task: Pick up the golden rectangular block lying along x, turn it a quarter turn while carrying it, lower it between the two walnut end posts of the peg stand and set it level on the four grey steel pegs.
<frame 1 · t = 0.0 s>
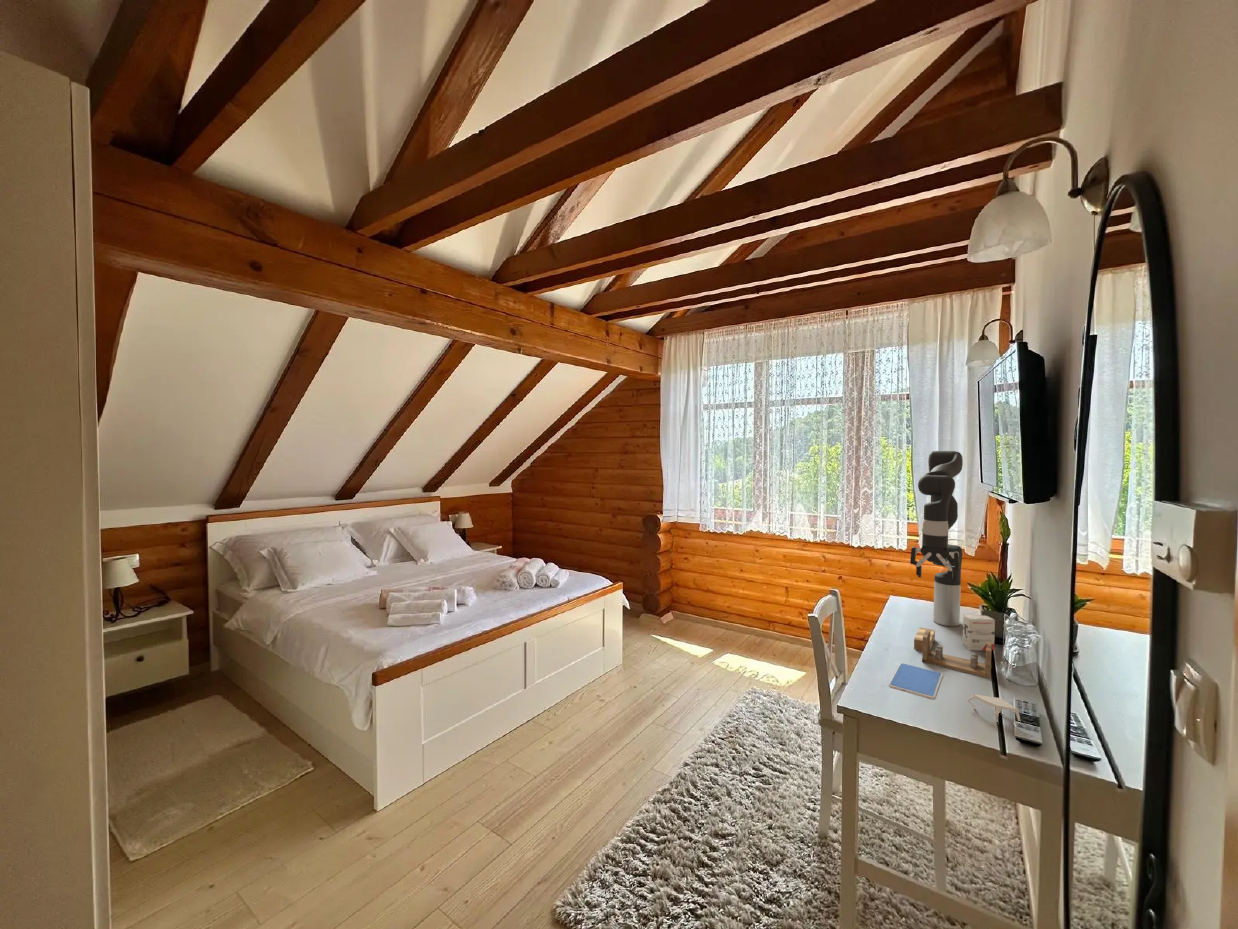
hand: (934, 579, 171), 29 cm above the table, fingers open, 8 cm apart
blue flat rectangular panel: (915, 683, 159), on the table
ink box: (977, 648, 183), on the table
golden rectangular block: (924, 644, 187), on the table
peg stand: (956, 664, 170), on the table
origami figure: (992, 717, 139), on the table
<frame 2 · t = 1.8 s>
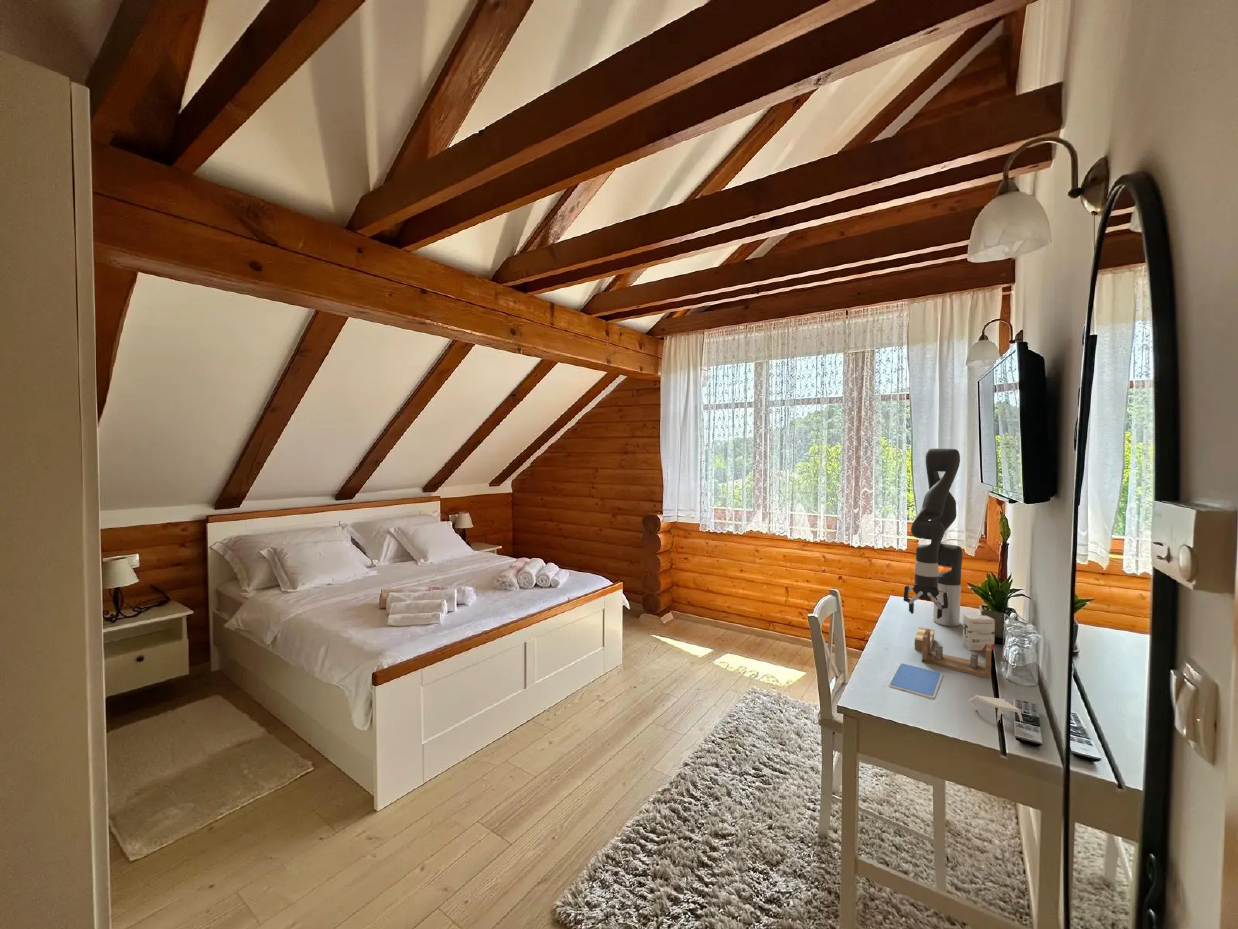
hand: (925, 615, 186), 11 cm above the table, fingers open, 8 cm apart
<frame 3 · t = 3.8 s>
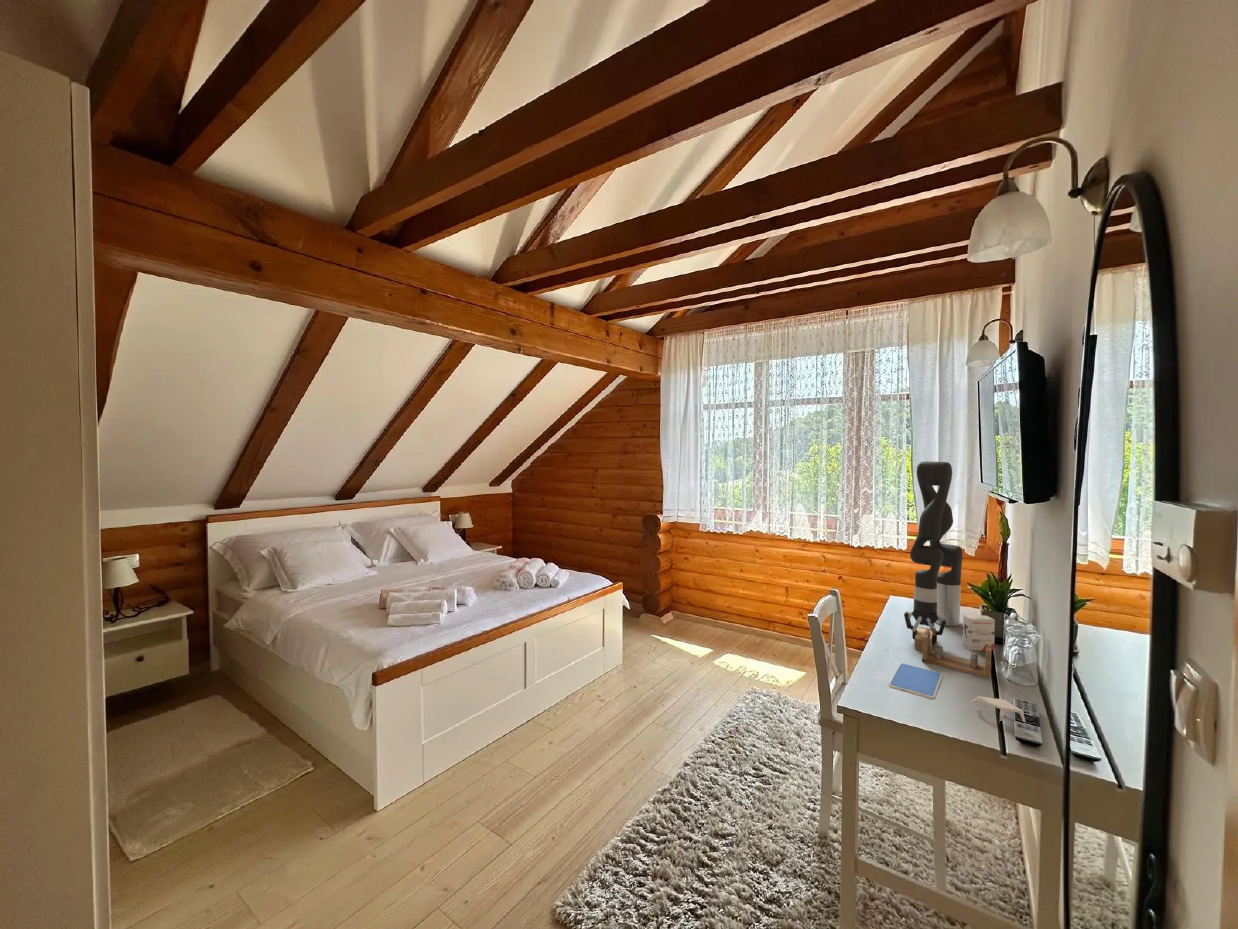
hand: (924, 642, 187), 1 cm above the table, fingers closed on golden rectangular block, 5 cm apart
golden rectangular block: (924, 644, 187), on the table, touching gripper
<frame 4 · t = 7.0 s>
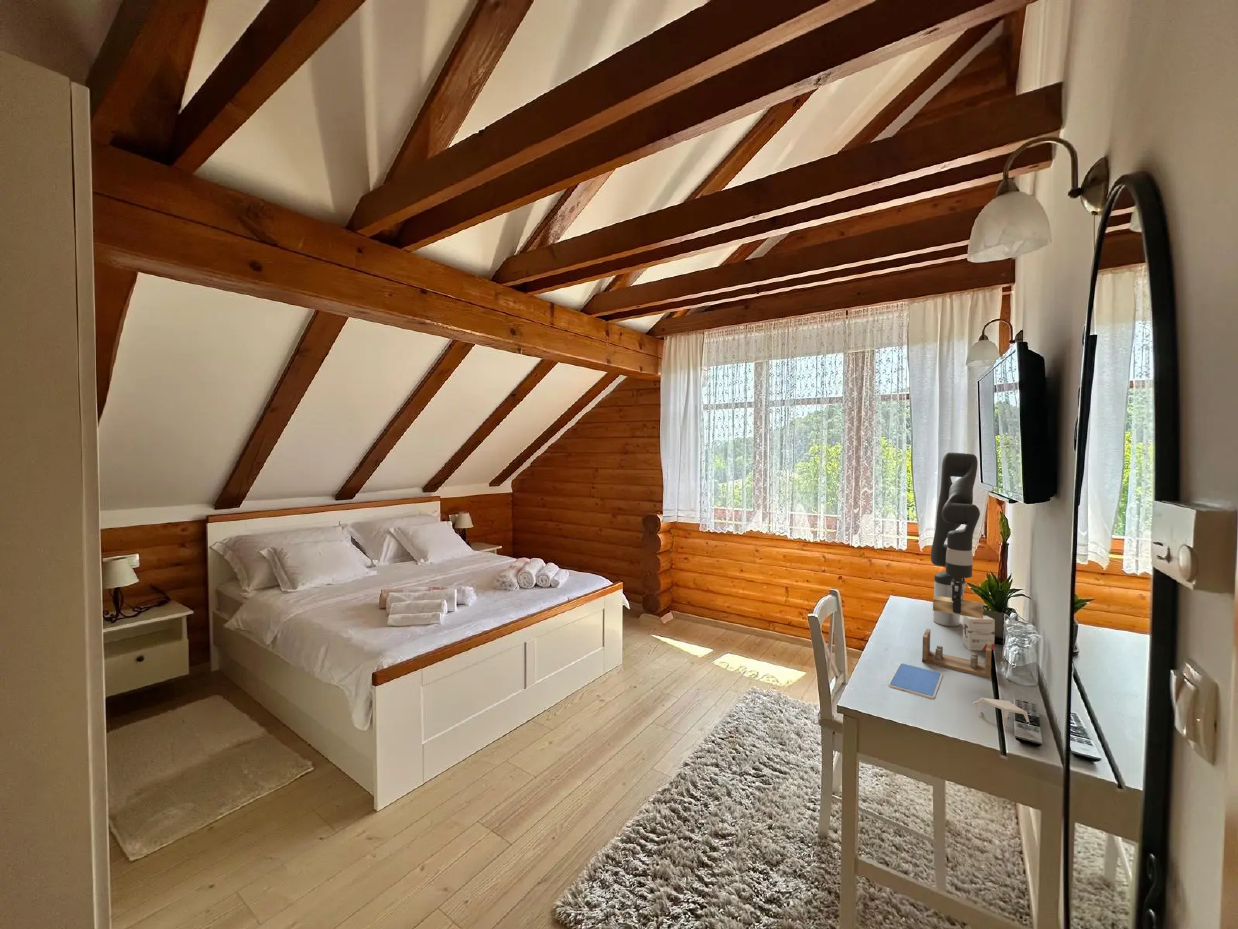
hand: (957, 610, 169), 19 cm above the table, fingers closed on golden rectangular block, 5 cm apart
golden rectangular block: (957, 612, 169), point 18 cm above the table, touching gripper
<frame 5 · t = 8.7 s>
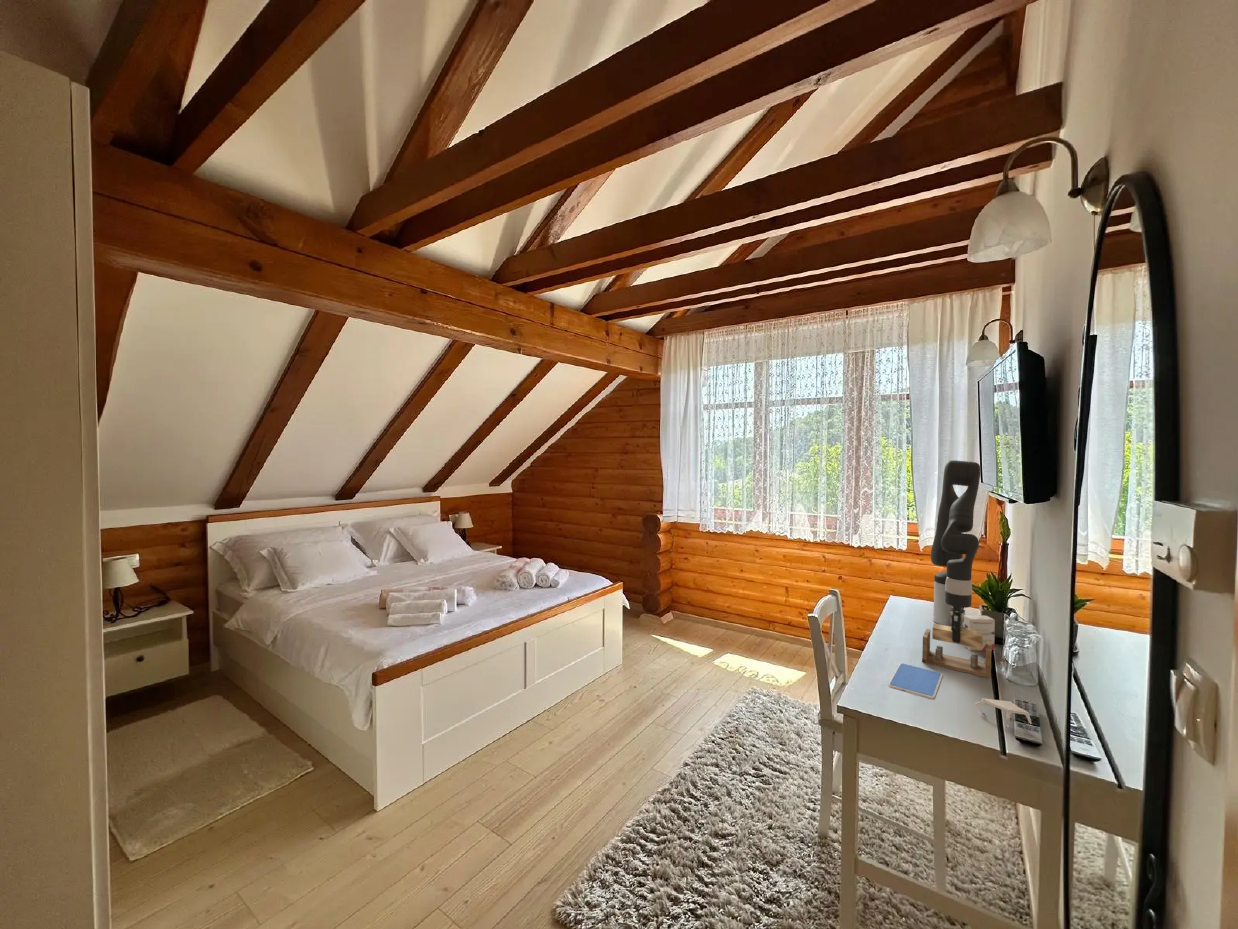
hand: (957, 639, 169), 9 cm above the table, fingers closed on golden rectangular block, 5 cm apart
golden rectangular block: (957, 641, 169), point 8 cm above the table, touching gripper
when the fingers open (6 cm above the table, at t = 10.2 s): golden rectangular block stays where it is, resting on peg stand.
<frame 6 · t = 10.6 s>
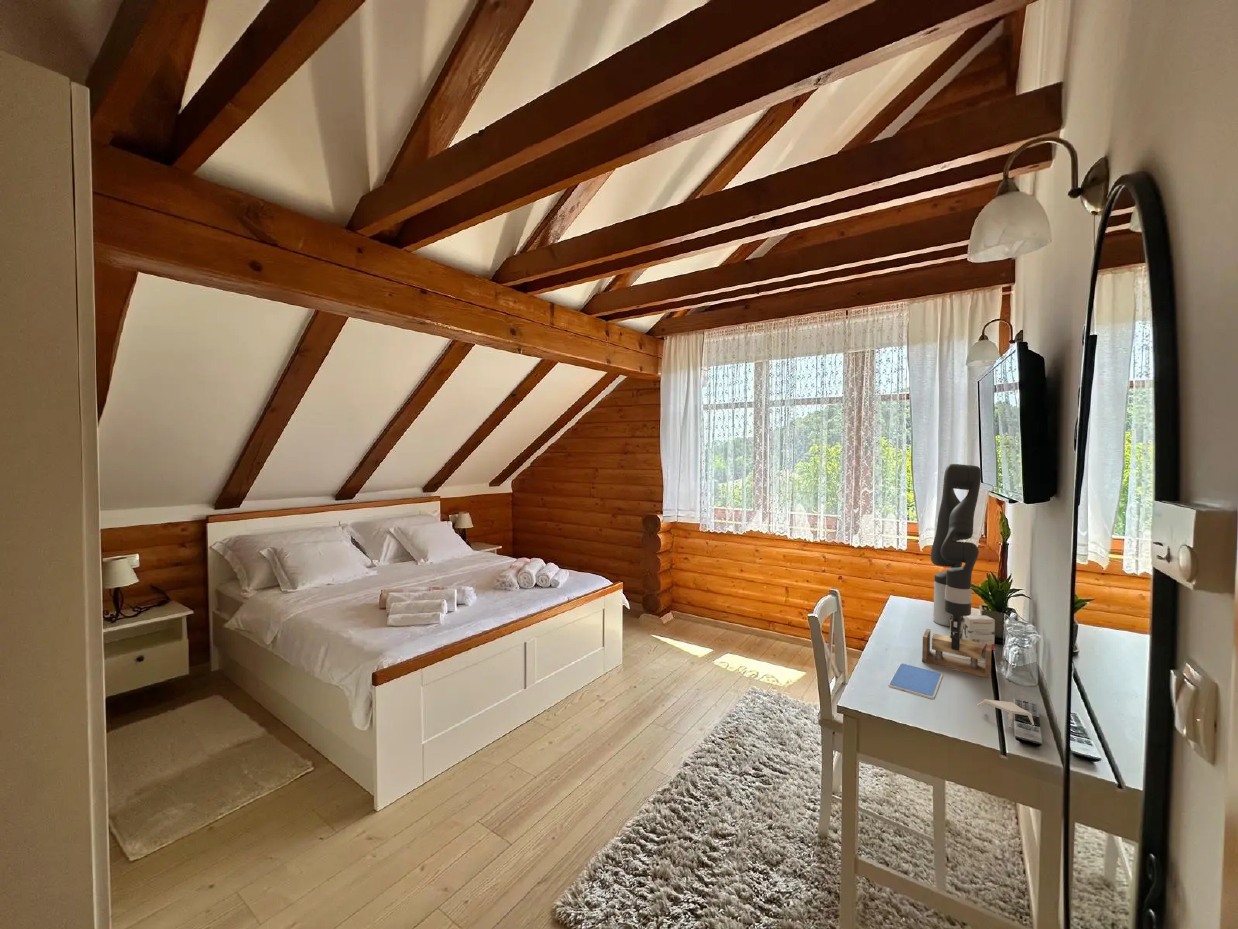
hand: (956, 645, 169), 7 cm above the table, fingers open, 8 cm apart
golden rectangular block: (956, 652, 170), point 4 cm above the table, touching peg stand
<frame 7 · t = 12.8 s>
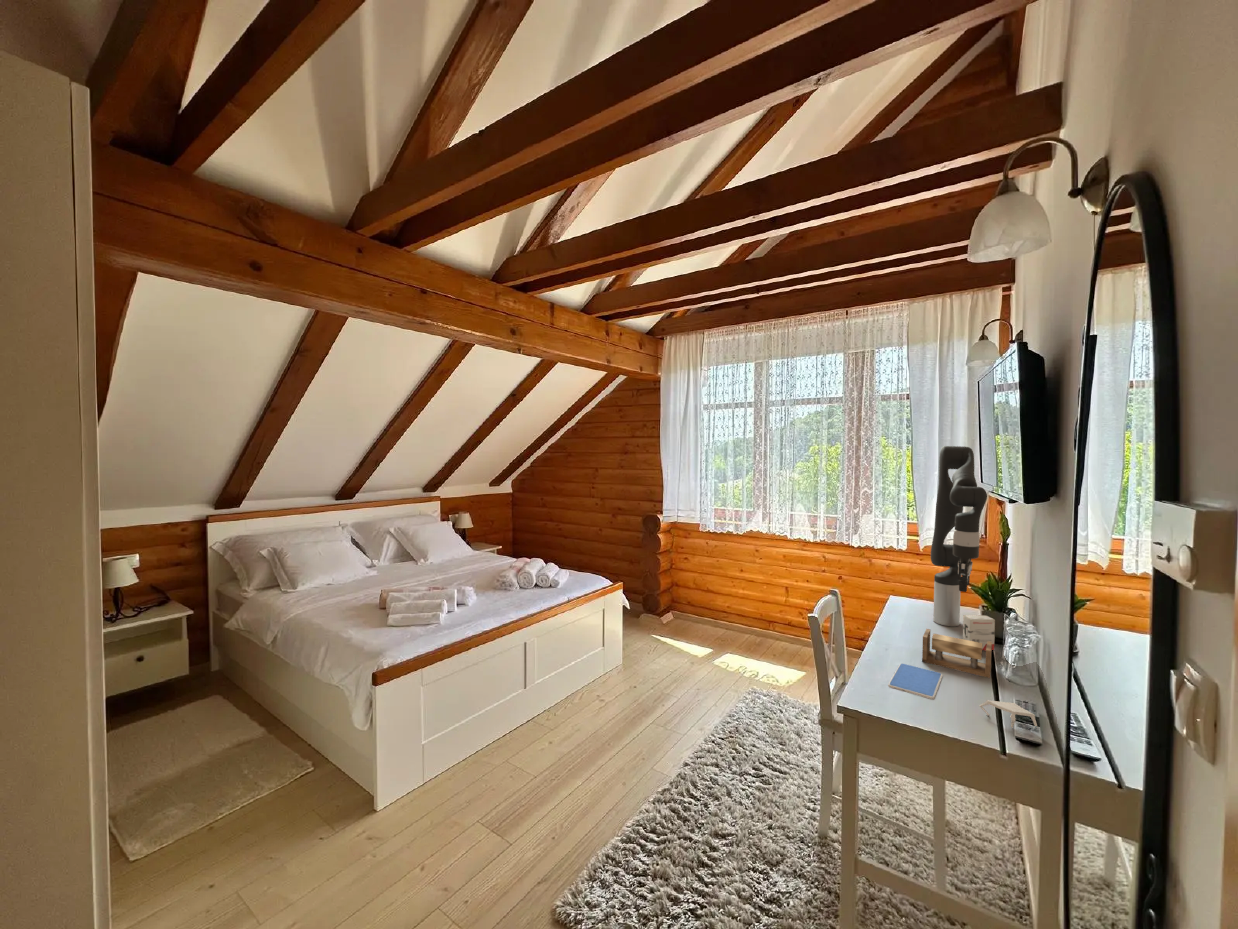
hand: (964, 588, 174), 25 cm above the table, fingers open, 8 cm apart
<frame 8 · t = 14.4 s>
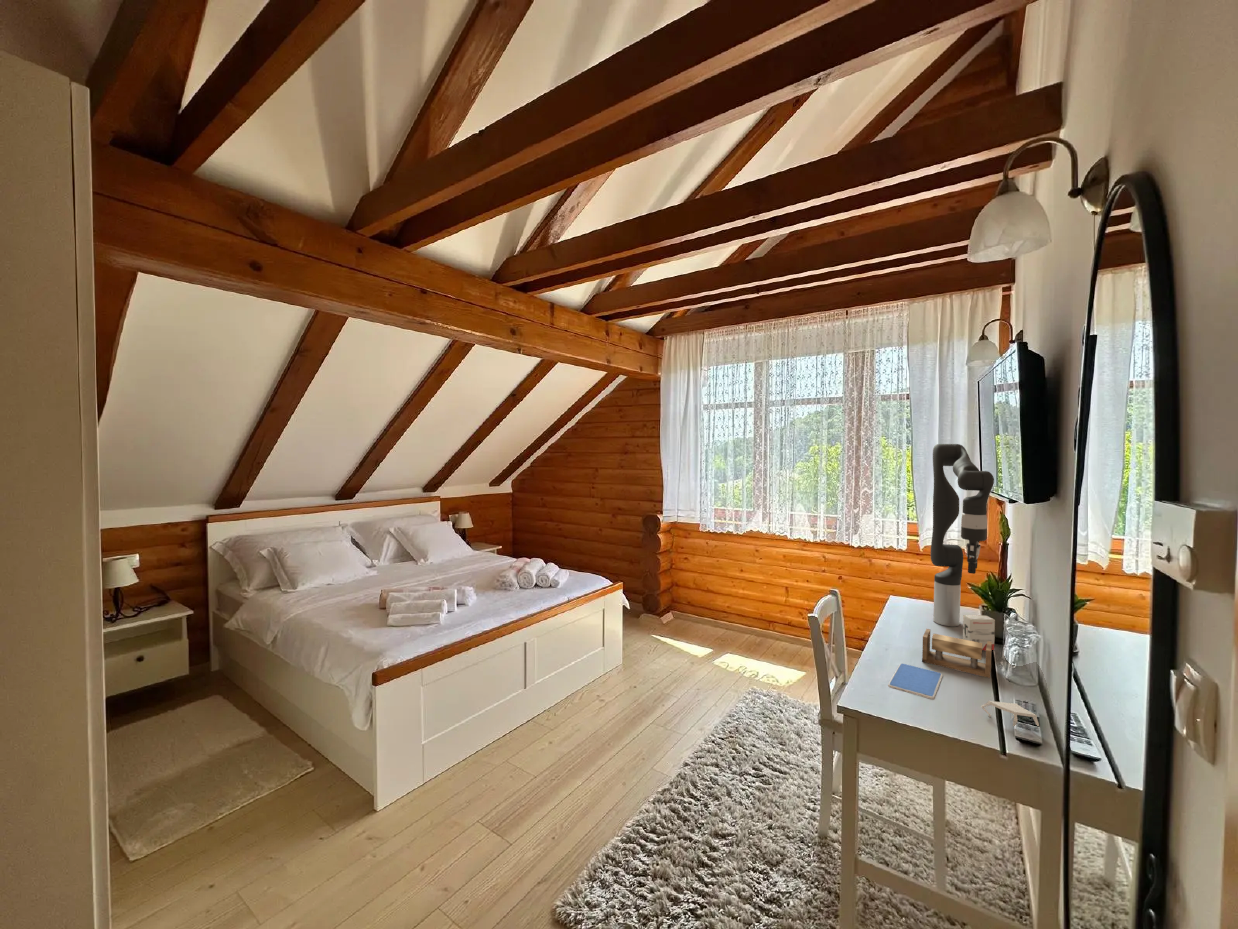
hand: (972, 570, 178), 30 cm above the table, fingers open, 8 cm apart
at the end: golden rectangular block 0.1 cm off-centre on the peg stand, point 4.5 cm above the peg stand's base; golden rectangular block tilted 0°; the gripper is holding nothing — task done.
